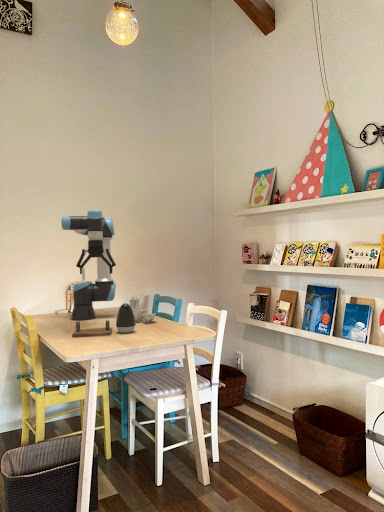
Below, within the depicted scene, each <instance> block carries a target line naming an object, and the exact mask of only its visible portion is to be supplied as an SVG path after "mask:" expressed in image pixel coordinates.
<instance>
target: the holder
mask: <svg viewBox="0 0 384 512" xmlns="http://www.w3.org/2000/svg"><path fill="white" fill-rule="evenodd" d="M104 322H105V327H100V328H98V327H97V328H81V322H80V321H76V322H75V330H74V332H72V334H71V338H83V337H84V338H86V337H87V338H88V337H89V338H90V337H107V336H109V335H112V333H113V331H112V330H113V327H111V326H110V320H109V319H108V320H105V321H104ZM109 337H110V336H109Z"/></svg>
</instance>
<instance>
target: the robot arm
mask: <svg viewBox="0 0 384 512" xmlns="http://www.w3.org/2000/svg"><path fill="white" fill-rule="evenodd" d="M60 222H61V228H62V230H64V231H74V232H75V233H76V234H78V235H81V236H87V239H88V241H87V249H85V248H84V249H83V248H82V250H81V254H80V257H79V259H78V260H77V263H76V265H75V267H77V268H78V269H79V274H80V275H81V281H84V282H78V283H74V285H73V289H72V292H73V296H72V297H73V309H72V312H71V317H70V319H71V320H72V321H86V320H87V321H88V320H93V319H96V317H97V316H96V312H95V310H94V306H93V303H95V302H112V301H114V300H115V296H116V287H117V283H116V282H114V279H113V278H112V274H113V267H116V266H117V264H116V262H115V260H114V258H113V257H112V255H111V240H112V239H113V236H115V228H114V221H113V218H112V217H108V216H107V217H105V216H104V217H103V212H102V210H100V209H90V210H89V209H88V210H87V215H65V216H64V215H63V216H62V217H61V221H60ZM87 253H88V255H87V257H86V258H85V255H86V254H87ZM84 258H85V259H84ZM91 258H93V259H94V258H96V269H97V272H96V273H97V278H96V279H95V280H94V282H95V283H93V282H92V281H86V269H85V265H87V263H88V262H89V261H90V259H91Z"/></svg>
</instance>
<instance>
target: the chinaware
mask: <svg viewBox="0 0 384 512" xmlns="http://www.w3.org/2000/svg"><path fill="white" fill-rule="evenodd" d="M129 305H130V306H131V308H132V310H133V313H134V317H135V322H136V323H141V322H142V321H143V320H144V322H146V324H152V323H153V321H154V320H155V318H156V315H157V313H156V312H149V311H150V309H148V308H144V309H142V308H141V307H140V298H138V297H137V296H136V295H135V294H133V296H131V298H129Z"/></svg>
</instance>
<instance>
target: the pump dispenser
mask: <svg viewBox="0 0 384 512" xmlns="http://www.w3.org/2000/svg"><path fill="white" fill-rule="evenodd" d="M136 324H137V322H135V317H134V313H133V310H132V308H131V306H130V303H127V302H126V303H122V304H121V305H120V306H119V309H118V312H117V314H116V321H115V327H116V329H117V331H118V332H119V333H121V334H129V333H132V332H133V331H134V330H135V327H136Z"/></svg>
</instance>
